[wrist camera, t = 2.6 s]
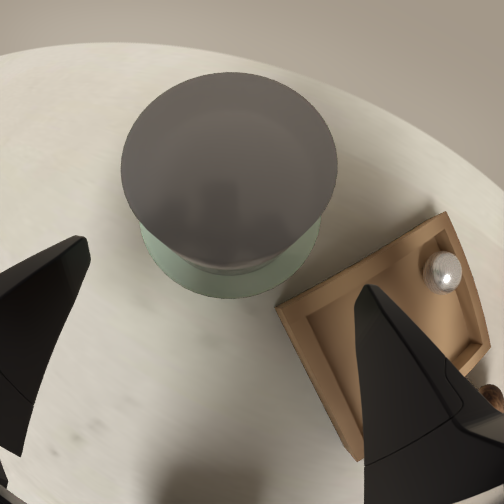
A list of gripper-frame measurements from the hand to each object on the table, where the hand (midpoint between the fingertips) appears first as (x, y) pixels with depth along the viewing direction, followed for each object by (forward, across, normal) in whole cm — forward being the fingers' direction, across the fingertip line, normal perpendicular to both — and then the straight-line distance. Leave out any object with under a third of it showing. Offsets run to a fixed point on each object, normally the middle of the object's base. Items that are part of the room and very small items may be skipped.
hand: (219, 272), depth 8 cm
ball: (+8, -14, +4) cm, 16 cm away
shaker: (+8, 0, +5) cm, 9 cm away
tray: (+5, -12, +8) cm, 15 cm away
